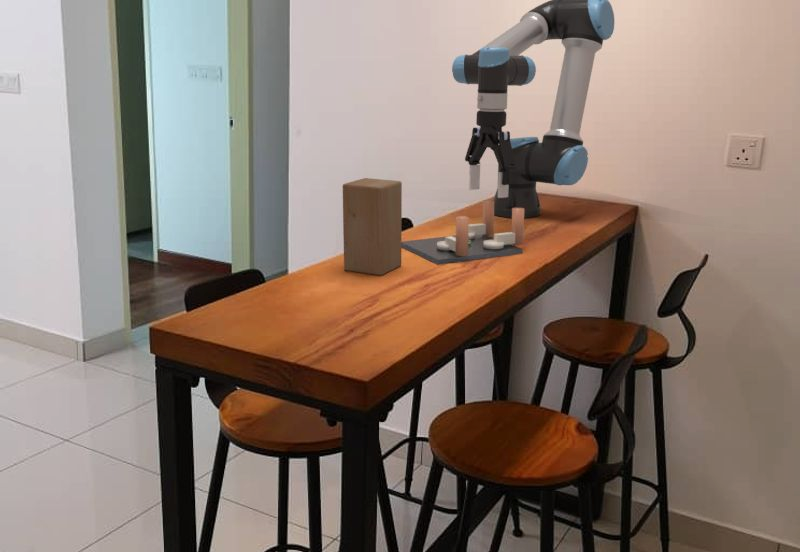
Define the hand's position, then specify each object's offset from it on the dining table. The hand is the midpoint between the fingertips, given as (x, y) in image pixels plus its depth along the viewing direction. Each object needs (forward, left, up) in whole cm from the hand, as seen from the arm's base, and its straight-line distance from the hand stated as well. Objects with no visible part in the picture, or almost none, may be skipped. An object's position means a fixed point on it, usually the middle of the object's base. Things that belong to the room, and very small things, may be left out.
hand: (488, 193), depth 208 cm
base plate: (+12, +6, -13) cm, 18 cm away
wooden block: (+39, +12, -13) cm, 42 cm away
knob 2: (+4, 0, -11) cm, 12 cm away
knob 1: (+17, +11, -11) cm, 23 cm away
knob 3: (+3, +12, -11) cm, 16 cm away
